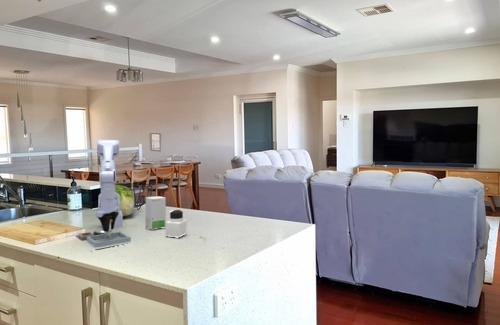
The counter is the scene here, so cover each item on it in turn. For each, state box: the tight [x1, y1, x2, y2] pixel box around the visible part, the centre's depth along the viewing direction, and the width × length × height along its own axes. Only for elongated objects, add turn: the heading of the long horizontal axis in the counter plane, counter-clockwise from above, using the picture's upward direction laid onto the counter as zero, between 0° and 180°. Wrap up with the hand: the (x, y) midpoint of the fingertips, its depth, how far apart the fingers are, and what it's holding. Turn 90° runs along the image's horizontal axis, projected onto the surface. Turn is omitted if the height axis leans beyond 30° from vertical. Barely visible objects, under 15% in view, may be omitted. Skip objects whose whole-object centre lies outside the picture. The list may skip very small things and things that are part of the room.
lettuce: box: [115, 184, 136, 218], centre depth 218 cm, size 18×23×19 cm
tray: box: [86, 231, 132, 251], centre depth 165 cm, size 15×12×3 cm
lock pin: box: [105, 219, 112, 239], centre depth 165 cm, size 3×3×8 cm
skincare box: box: [144, 195, 167, 230], centre depth 192 cm, size 8×7×16 cm
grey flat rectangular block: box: [75, 228, 105, 242], centre depth 173 cm, size 14×10×3 cm
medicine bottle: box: [165, 209, 187, 236], centre depth 179 cm, size 7×7×12 cm
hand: (108, 230), depth 165 cm, fingers closed on lock pin, 3 cm apart
